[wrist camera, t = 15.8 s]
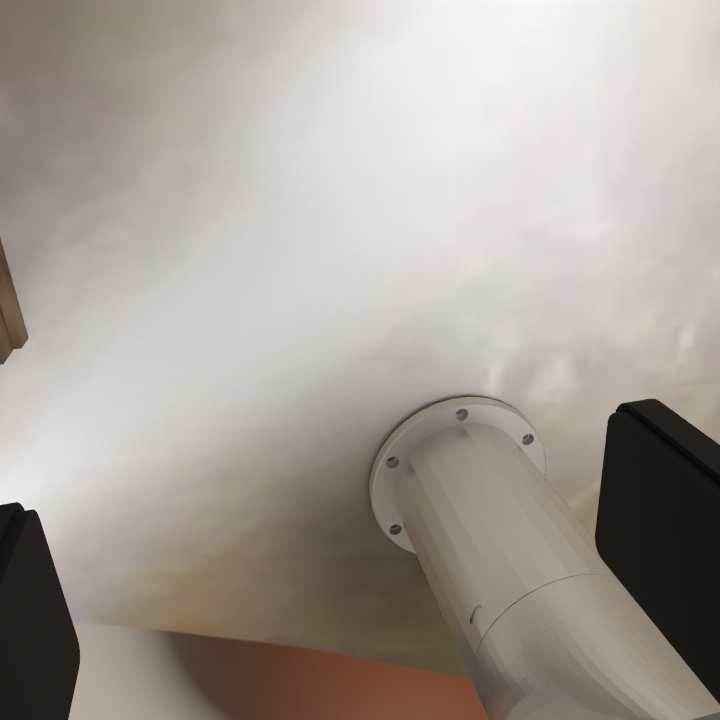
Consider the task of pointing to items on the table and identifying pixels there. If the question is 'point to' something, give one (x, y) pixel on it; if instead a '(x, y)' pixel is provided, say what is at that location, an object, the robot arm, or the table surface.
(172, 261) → the table surface
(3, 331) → the wooden stepped riser
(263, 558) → the table surface
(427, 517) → the robot arm
